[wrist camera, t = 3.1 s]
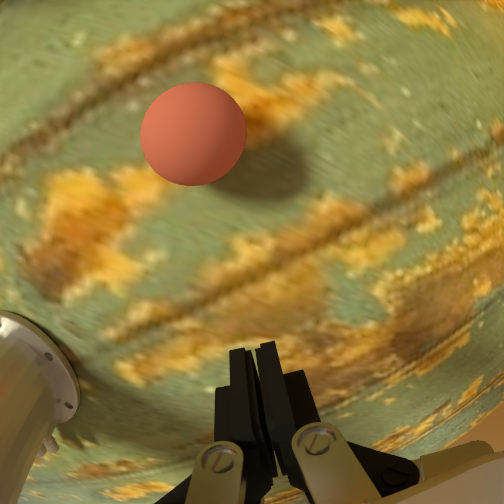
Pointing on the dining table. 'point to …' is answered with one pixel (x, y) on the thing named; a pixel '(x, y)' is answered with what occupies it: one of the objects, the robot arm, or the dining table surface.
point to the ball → (193, 134)
